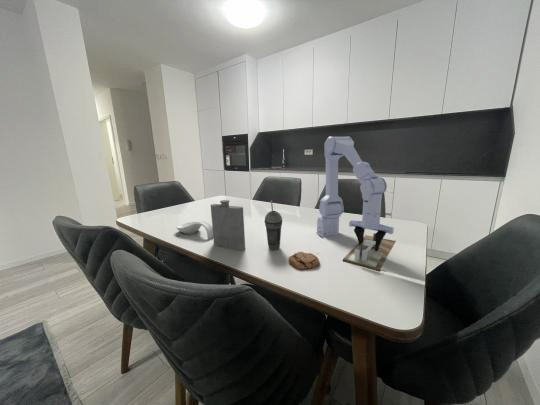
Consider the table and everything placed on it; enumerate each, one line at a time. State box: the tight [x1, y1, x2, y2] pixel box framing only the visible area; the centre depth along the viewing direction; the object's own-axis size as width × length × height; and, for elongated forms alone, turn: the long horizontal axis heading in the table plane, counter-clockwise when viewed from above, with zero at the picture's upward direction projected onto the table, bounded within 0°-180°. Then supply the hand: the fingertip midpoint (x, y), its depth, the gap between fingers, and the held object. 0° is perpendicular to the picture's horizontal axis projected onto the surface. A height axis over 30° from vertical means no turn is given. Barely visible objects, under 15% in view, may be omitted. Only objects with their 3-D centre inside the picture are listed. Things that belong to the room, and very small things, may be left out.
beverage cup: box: [264, 199, 283, 251], centre depth 89 cm, size 7×7×20 cm
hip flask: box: [210, 199, 246, 251], centre depth 91 cm, size 16×4×20 cm, turn 61°
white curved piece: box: [176, 220, 213, 240], centre depth 110 cm, size 24×12×7 cm, turn 55°
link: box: [354, 239, 376, 263], centre depth 79 cm, size 11×4×4 cm, turn 139°
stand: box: [342, 232, 397, 273], centre depth 84 cm, size 28×12×6 cm, turn 142°
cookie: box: [288, 251, 320, 271], centre depth 78 cm, size 10×11×3 cm
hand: (368, 248), depth 81 cm, fingers open, 5 cm apart
